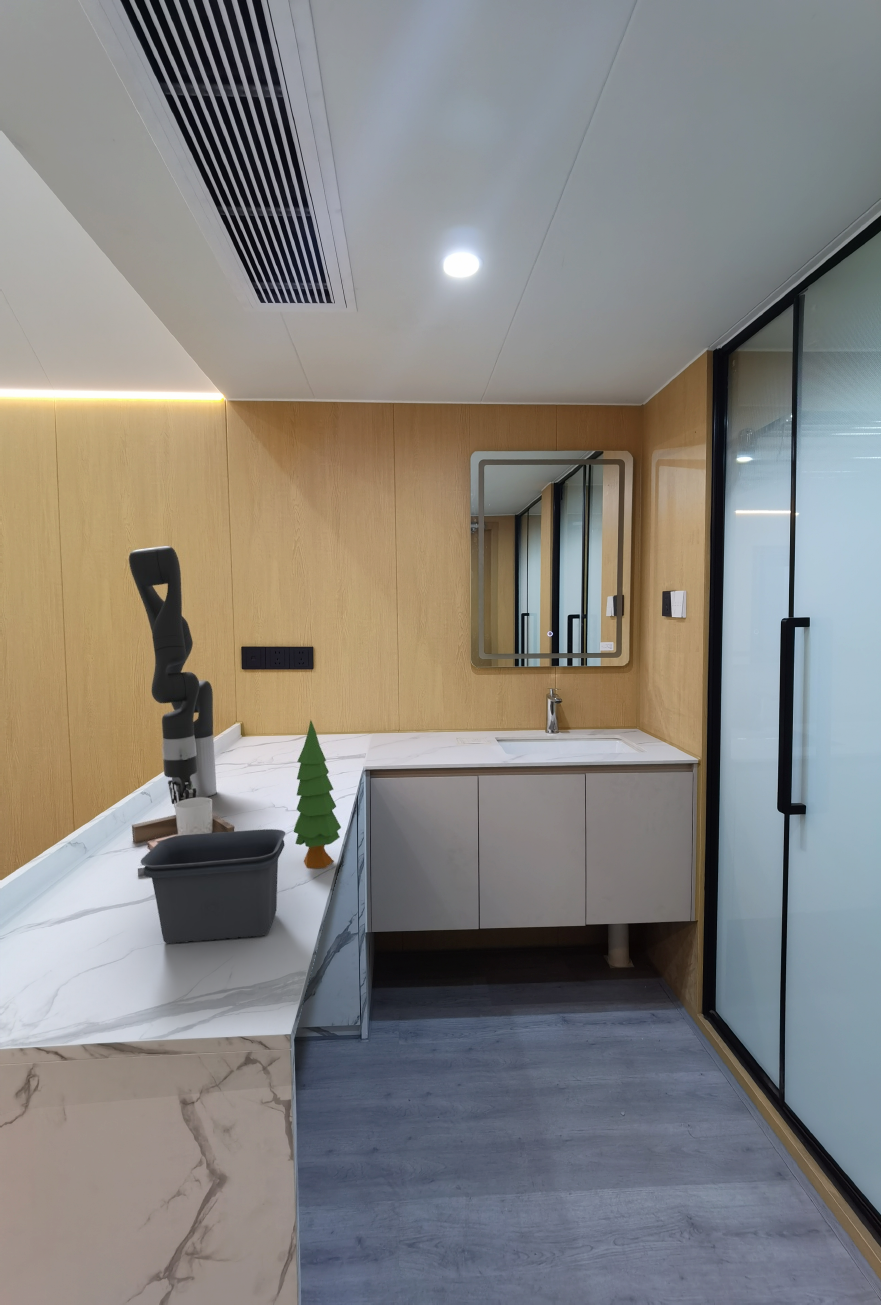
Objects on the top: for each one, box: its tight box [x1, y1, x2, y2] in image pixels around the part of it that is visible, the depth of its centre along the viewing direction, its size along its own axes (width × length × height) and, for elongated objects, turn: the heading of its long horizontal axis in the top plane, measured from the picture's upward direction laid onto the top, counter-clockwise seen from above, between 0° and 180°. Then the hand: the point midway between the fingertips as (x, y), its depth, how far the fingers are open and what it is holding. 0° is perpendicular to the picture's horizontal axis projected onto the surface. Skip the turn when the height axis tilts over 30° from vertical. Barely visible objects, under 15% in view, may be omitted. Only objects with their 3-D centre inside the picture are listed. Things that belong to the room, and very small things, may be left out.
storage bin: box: [140, 828, 286, 944], centre depth 106 cm, size 21×16×14 cm
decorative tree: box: [293, 719, 342, 869], centre depth 130 cm, size 10×9×30 cm
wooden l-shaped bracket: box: [131, 812, 235, 844], centre depth 146 cm, size 19×17×4 cm
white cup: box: [174, 797, 213, 836], centre depth 143 cm, size 8×8×10 cm
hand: (184, 824), depth 155 cm, fingers open, 3 cm apart
